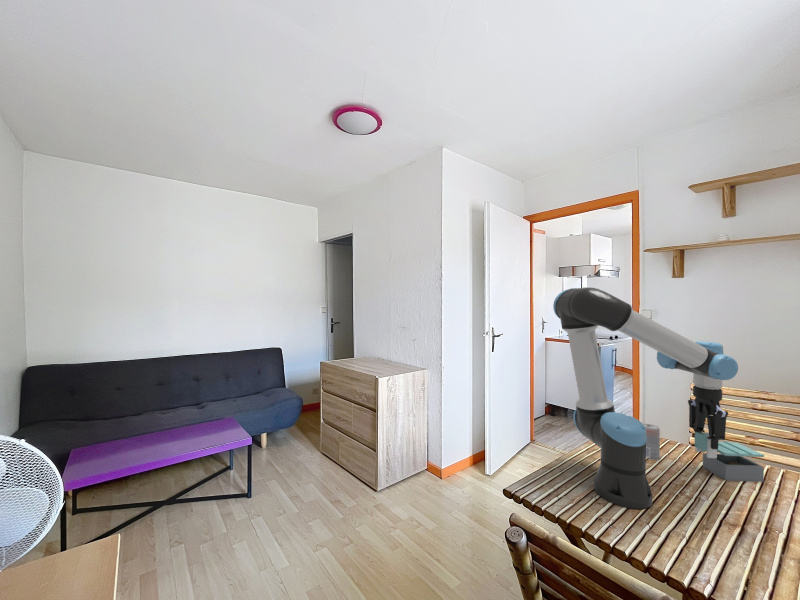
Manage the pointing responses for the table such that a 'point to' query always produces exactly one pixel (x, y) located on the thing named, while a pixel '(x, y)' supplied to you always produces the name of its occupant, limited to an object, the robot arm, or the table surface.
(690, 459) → the table surface
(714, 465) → the tub
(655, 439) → the energy drink
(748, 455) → the lid
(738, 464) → the walnut block
